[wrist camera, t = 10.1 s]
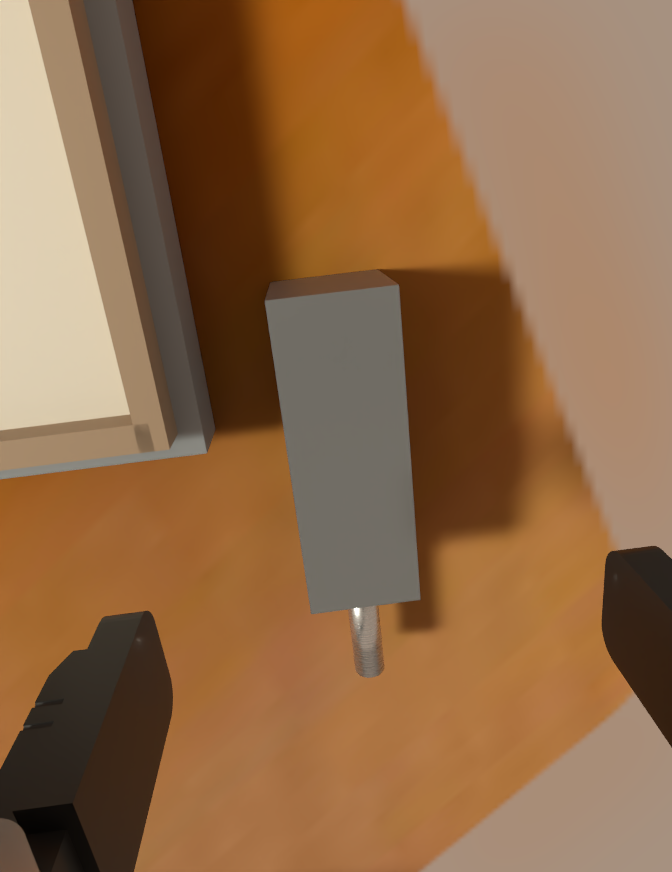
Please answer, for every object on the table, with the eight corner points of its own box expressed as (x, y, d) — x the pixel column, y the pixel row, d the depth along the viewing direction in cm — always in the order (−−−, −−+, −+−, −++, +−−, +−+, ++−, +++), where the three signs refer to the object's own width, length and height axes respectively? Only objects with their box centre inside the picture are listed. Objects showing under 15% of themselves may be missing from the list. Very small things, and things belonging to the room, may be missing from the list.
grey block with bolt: (405, 623, 23) (427, 705, 19) (321, 634, 23) (326, 719, 19) (377, 268, 18) (398, 284, 14) (270, 281, 18) (264, 300, 14)
